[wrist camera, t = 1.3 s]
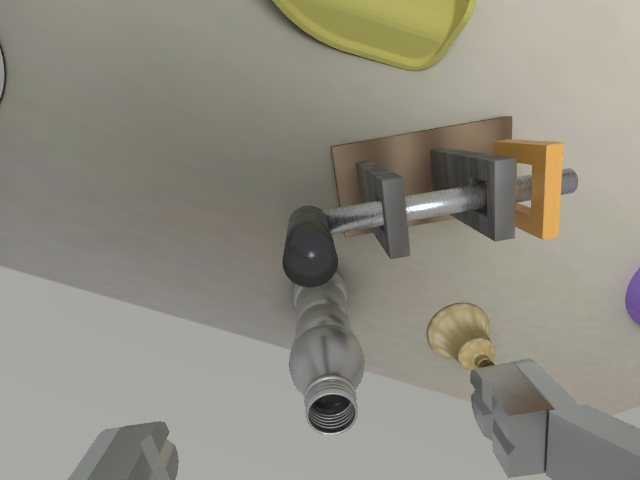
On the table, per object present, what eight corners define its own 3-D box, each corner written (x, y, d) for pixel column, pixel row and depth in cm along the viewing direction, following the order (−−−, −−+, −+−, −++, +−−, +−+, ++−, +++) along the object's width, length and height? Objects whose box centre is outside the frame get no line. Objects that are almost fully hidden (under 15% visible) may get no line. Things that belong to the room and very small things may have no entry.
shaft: (292, 243, 29) (288, 291, 20) (285, 206, 28) (277, 241, 20) (558, 198, 29) (665, 227, 20) (560, 159, 28) (674, 173, 19)
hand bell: (489, 298, 44) (586, 387, 29) (488, 352, 47) (577, 460, 32) (425, 307, 44) (488, 401, 29) (428, 361, 47) (487, 473, 32)
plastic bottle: (345, 259, 42) (380, 370, 23) (345, 309, 44) (376, 449, 25) (292, 261, 41) (282, 374, 22) (294, 311, 43) (286, 454, 24)
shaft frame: (343, 233, 41) (364, 287, 27) (330, 146, 37) (346, 157, 24) (503, 206, 40) (607, 246, 27) (504, 116, 37) (621, 110, 23)
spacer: (494, 216, 33) (542, 239, 26) (493, 141, 31) (546, 145, 24) (506, 214, 33) (558, 236, 26) (507, 139, 31) (563, 142, 24)
